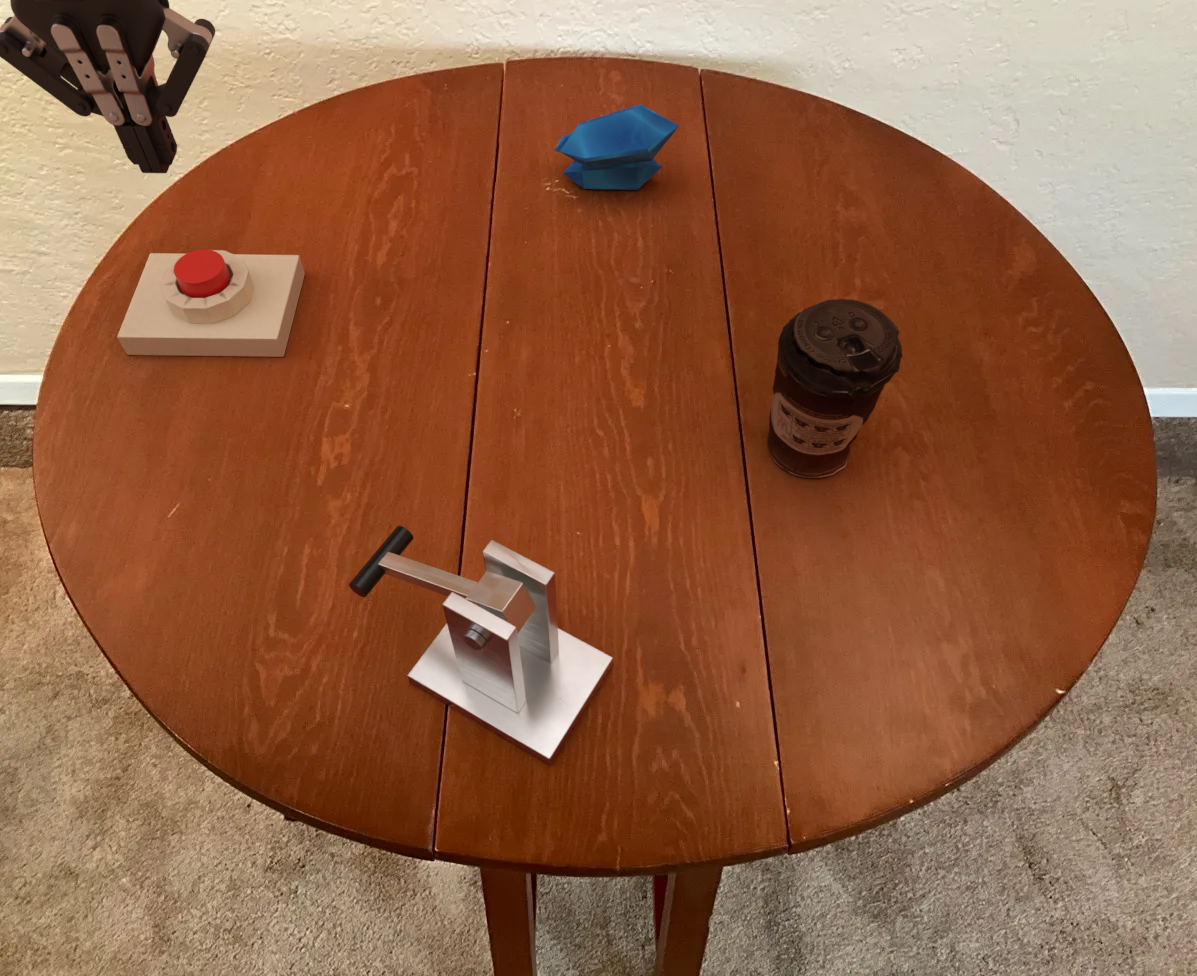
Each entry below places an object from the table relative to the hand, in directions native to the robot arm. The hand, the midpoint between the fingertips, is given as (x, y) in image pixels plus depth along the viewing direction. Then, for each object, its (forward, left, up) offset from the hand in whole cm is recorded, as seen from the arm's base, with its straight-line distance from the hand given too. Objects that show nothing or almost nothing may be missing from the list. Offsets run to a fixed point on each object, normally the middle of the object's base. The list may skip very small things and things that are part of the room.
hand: (158, 165), depth 64 cm
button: (-3, +6, -16) cm, 17 cm away
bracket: (+24, -27, -19) cm, 41 cm away
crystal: (+31, +24, -20) cm, 43 cm away
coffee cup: (+46, -8, -20) cm, 50 cm away
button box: (-3, +6, -19) cm, 20 cm away
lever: (+20, -25, -12) cm, 35 cm away
